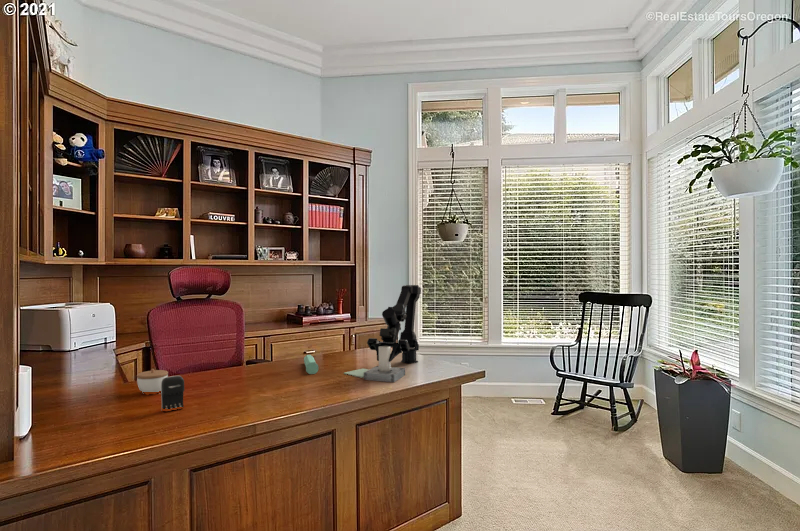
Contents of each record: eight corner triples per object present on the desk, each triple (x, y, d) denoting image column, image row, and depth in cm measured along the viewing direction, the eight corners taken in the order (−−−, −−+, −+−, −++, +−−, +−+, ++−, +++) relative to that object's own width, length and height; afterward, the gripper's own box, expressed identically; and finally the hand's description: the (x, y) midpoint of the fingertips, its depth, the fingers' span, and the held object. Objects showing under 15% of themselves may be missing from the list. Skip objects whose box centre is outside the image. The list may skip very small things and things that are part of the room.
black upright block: (163, 413, 156) (163, 379, 156) (160, 411, 159) (160, 377, 159) (185, 409, 161) (185, 376, 161) (182, 407, 164) (182, 374, 164)
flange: (376, 372, 215) (376, 366, 215) (405, 374, 210) (405, 368, 210) (363, 379, 201) (363, 372, 201) (394, 382, 197) (394, 375, 197)
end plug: (386, 374, 209) (386, 345, 209) (393, 376, 205) (392, 347, 205) (376, 376, 206) (376, 346, 206) (383, 378, 202) (382, 348, 202)
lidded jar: (132, 393, 182) (132, 369, 182) (161, 387, 190) (161, 364, 190) (142, 398, 175) (142, 373, 175) (172, 392, 183) (172, 368, 183)
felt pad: (363, 369, 221) (363, 368, 221) (381, 373, 213) (381, 372, 213) (343, 373, 213) (343, 372, 213) (362, 377, 204) (362, 376, 204)
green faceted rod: (305, 351, 237) (308, 360, 213) (316, 355, 238) (320, 364, 214) (300, 362, 236) (303, 372, 212) (311, 366, 237) (315, 376, 213)
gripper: (368, 320, 212) (358, 349, 202) (407, 321, 206) (399, 351, 196) (375, 335, 220) (365, 363, 209) (413, 337, 213) (405, 366, 203)
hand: (383, 360), depth 204 cm, fingers closed on end plug, 5 cm apart
